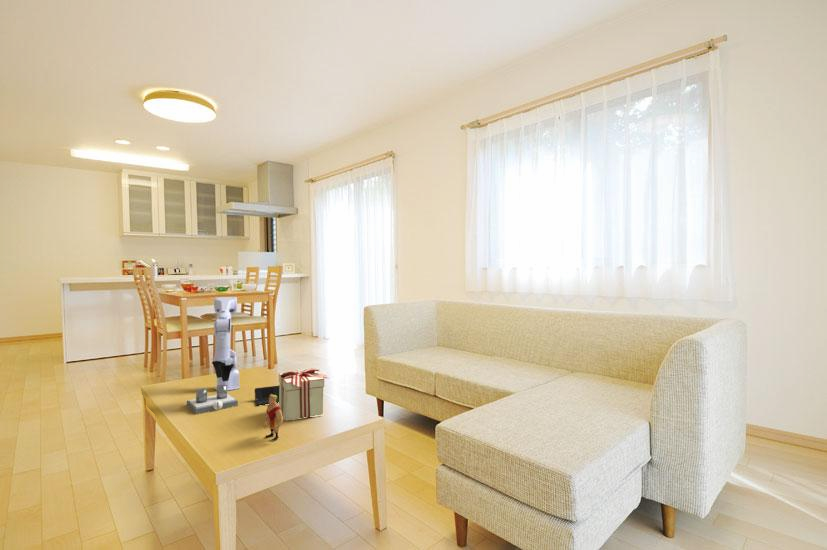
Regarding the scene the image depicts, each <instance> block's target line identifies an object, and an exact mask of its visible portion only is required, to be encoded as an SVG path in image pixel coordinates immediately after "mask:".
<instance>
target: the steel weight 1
mask: <svg viewBox="0 0 827 550" xmlns="http://www.w3.org/2000/svg"><path fill="white" fill-rule="evenodd" d="M195 396H196V397H195V399H196V403H203V402H206V401H207V397H208V388H207V387H202V388H201V387H200V388H197V389H196V390H195Z"/></svg>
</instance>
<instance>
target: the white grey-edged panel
mask: <svg viewBox="0 0 827 550" xmlns="http://www.w3.org/2000/svg"><path fill="white" fill-rule="evenodd" d="M236 405H238V406H239V401H238V400H237V399H236V398H235V397H234V396H232V395H231V394H229V393H227V398H225V399H217V394H214V395H209V396H208V395H207V401H206V402H203V403H196V398H191V399H188V400H186V407H188V409H189V410H191V411H192V413H194V414H195V415H199V413H200V414H203V413H204V412H205V413H209V412H208V411H210V412H213V410H215V411H219V410H223V409H222V408H224V409H228V408H227V407H229V408H233V407H232V406H234V407H237V406H236ZM205 413H204V414H205Z"/></svg>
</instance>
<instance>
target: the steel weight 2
mask: <svg viewBox="0 0 827 550" xmlns="http://www.w3.org/2000/svg"><path fill="white" fill-rule="evenodd" d="M216 387H217V390H216V395H217V399H225V398H227V394H228V390H227V385H219V386H217V385H216Z"/></svg>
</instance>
